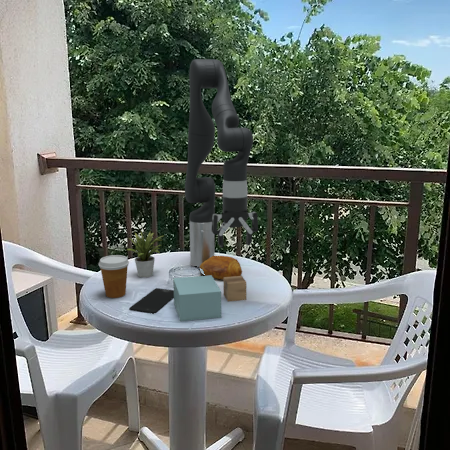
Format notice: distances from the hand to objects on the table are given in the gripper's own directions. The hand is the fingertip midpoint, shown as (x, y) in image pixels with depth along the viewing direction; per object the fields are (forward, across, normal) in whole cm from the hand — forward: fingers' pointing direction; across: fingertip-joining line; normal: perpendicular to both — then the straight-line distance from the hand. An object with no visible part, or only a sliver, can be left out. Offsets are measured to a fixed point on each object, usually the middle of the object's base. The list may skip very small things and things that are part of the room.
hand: (234, 245), depth 158 cm
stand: (+17, +14, +7) cm, 23 cm away
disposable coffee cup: (+17, +37, -11) cm, 42 cm away
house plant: (+17, +26, -26) cm, 41 cm away
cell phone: (+18, +25, -3) cm, 31 cm away
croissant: (+17, -1, -22) cm, 28 cm away
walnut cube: (+17, 0, 0) cm, 17 cm away
